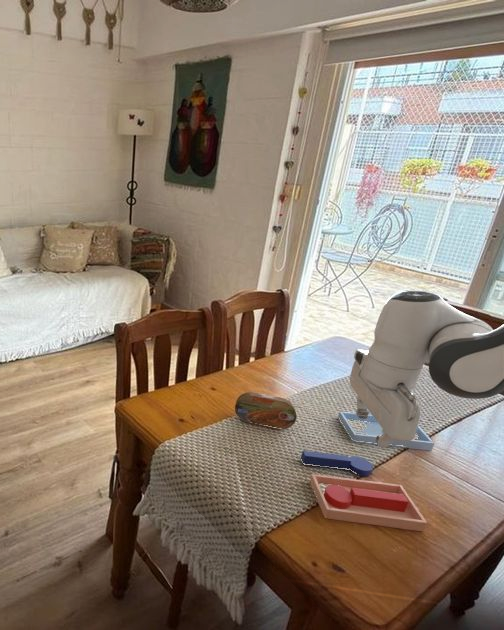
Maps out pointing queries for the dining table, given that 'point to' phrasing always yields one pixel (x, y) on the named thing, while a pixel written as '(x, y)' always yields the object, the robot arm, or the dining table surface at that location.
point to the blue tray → (376, 429)
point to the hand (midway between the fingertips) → (370, 430)
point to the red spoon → (364, 498)
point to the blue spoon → (338, 462)
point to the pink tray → (366, 514)
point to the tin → (265, 410)
